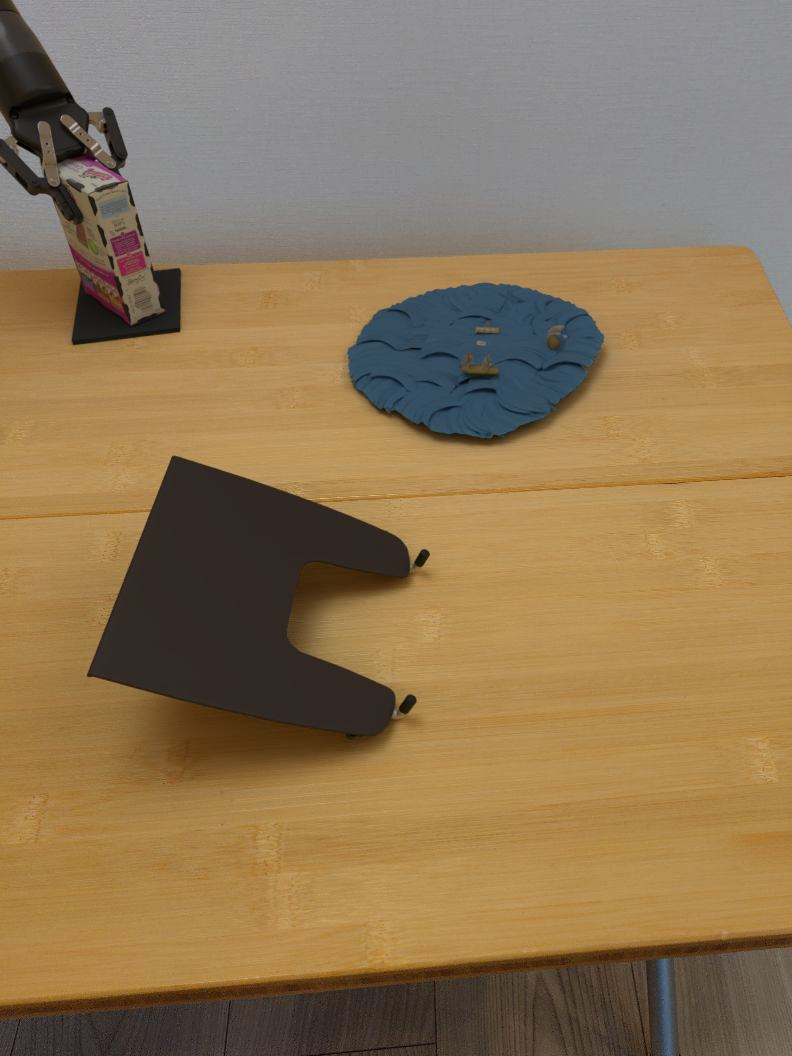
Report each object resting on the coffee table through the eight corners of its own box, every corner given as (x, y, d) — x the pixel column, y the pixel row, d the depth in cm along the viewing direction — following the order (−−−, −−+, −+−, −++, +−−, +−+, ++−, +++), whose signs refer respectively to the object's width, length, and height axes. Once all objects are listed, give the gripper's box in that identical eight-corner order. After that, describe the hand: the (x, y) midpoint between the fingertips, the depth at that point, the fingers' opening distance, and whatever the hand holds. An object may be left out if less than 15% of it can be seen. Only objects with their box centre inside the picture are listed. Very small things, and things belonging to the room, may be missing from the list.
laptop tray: (371, 796, 77) (413, 741, 71) (71, 727, 69) (91, 658, 63) (396, 583, 93) (433, 523, 87) (155, 507, 85) (178, 436, 79)
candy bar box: (169, 311, 114) (130, 179, 102) (131, 328, 111) (87, 194, 100) (120, 277, 119) (78, 147, 108) (83, 292, 117) (35, 161, 105)
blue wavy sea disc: (348, 464, 98) (338, 425, 94) (350, 304, 118) (343, 267, 115) (629, 435, 100) (631, 395, 96) (584, 282, 120) (584, 245, 117)
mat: (72, 344, 110) (71, 340, 110) (82, 283, 119) (80, 278, 119) (180, 331, 112) (178, 327, 112) (181, 271, 122) (179, 267, 121)
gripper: (-53, 67, 96) (43, 220, 99) (82, 34, 103) (167, 178, 106) (-51, 105, 103) (39, 248, 105) (76, 72, 110) (156, 206, 113)
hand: (103, 212), depth 106 cm, fingers closed on candy bar box, 5 cm apart
